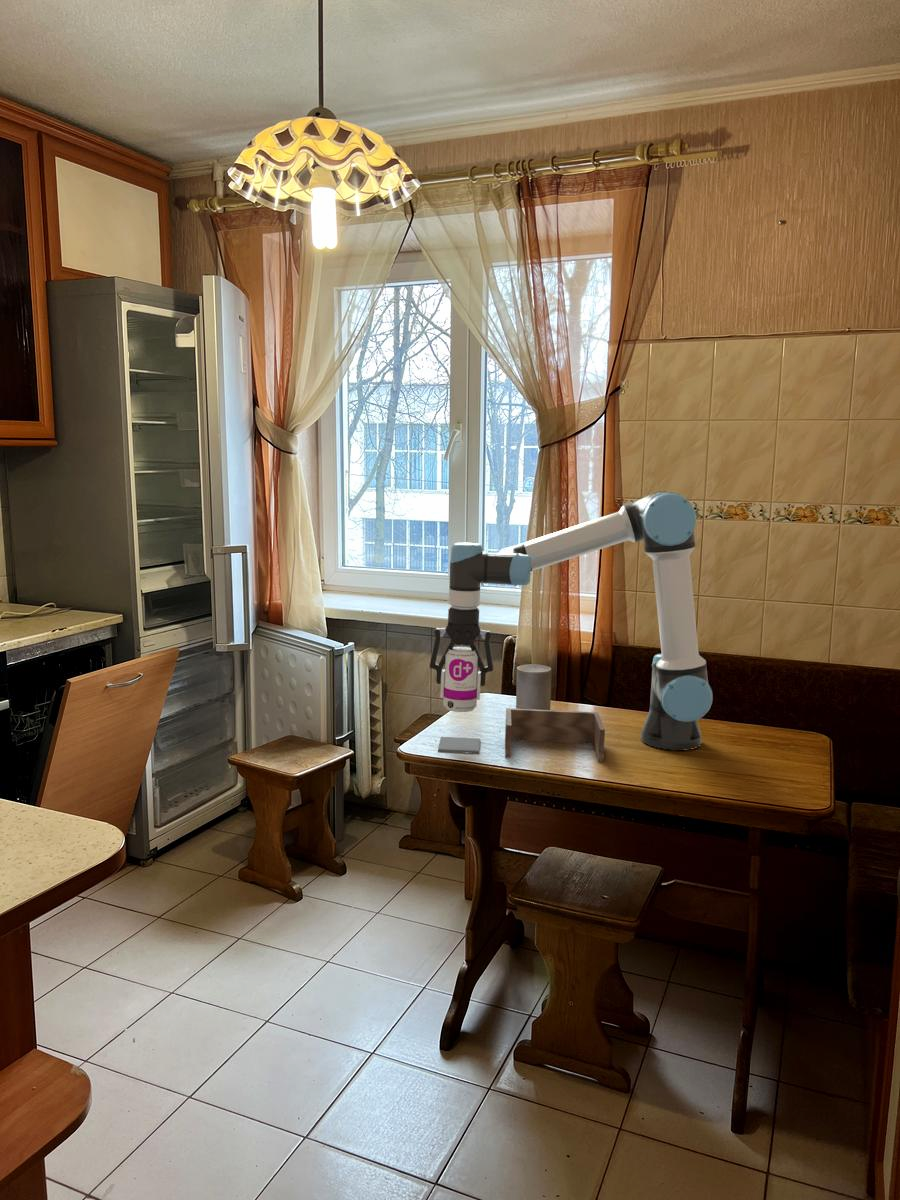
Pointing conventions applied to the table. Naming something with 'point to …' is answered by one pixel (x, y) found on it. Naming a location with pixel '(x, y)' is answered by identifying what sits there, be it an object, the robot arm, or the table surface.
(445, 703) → the supplement can
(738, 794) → the table surface
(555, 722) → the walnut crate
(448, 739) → the rubber mat
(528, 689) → the pillar candle
